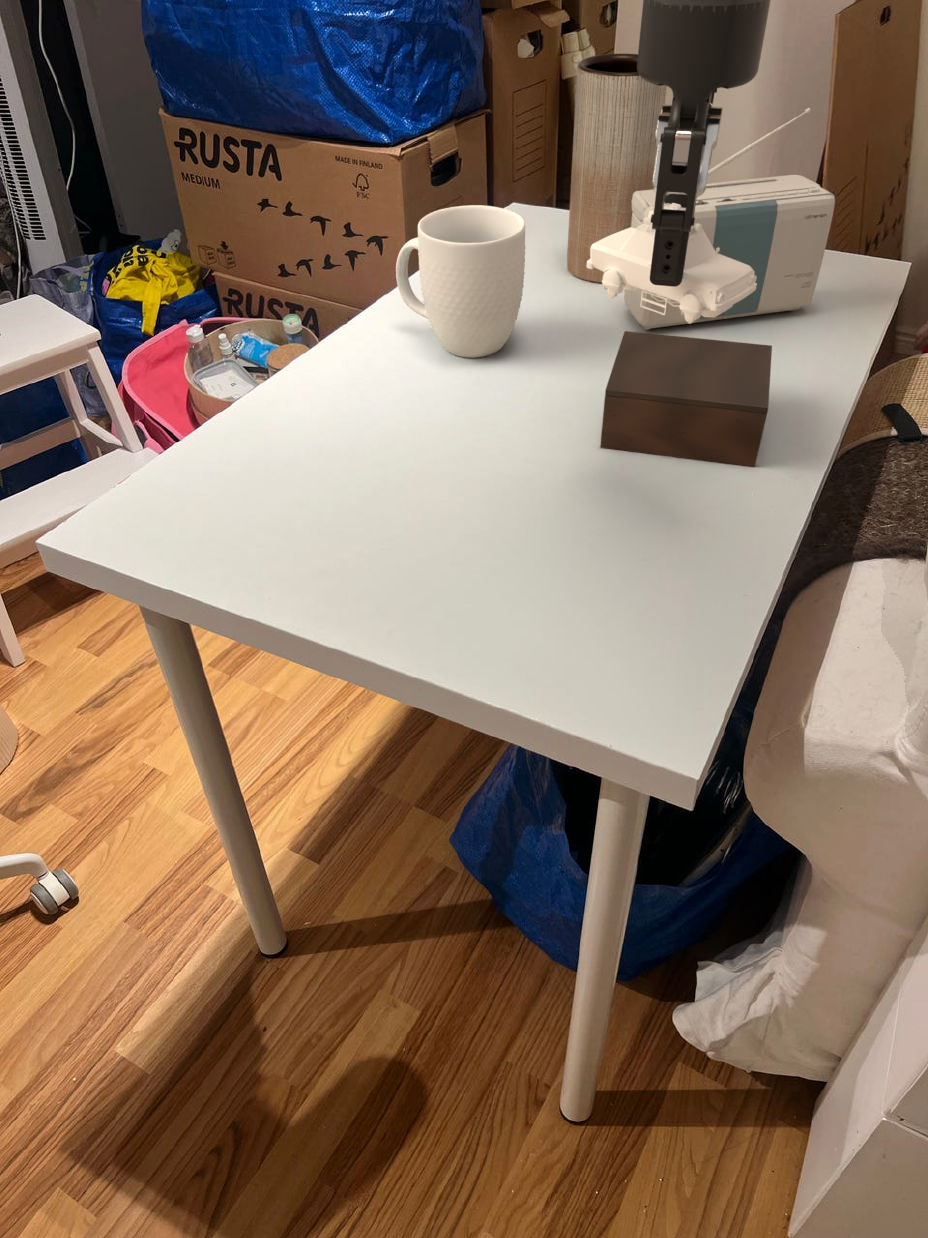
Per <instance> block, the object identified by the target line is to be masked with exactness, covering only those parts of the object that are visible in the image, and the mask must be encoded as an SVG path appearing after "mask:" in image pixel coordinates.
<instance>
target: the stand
mask: <svg viewBox="0 0 928 1238" xmlns="http://www.w3.org/2000/svg"><path fill="white" fill-rule="evenodd" d="M622 334H623V335H622V338H621V341H620V344H619V347H618V350H617V353H616V357H615V360H614V362H613V365H612V369H611V372H610V375H609V378H608V381H607V384H606V387H605V392H604V400H603V401H604V403H603V413H602V424H601V434H600V444H599V447H600V448H601V449H602V448H603V449H611V450H617V451H627V452H634V453H642V454H651V455H657V456H666V457H672V458H673V457H674V458H683V459H691V460H697V461H705V462H712V463H713V462H714V463H720V464H722V463H723V464H728V465H729V464H730V465H737V466H745V467H753V468H754V467H756V463H757V459H758V455H759V452H760V451H759V450H760V447H761V442H762V437H763V433H764V428H765V423H766V419H767V415H768V411H769V404H770V401H769V400H770V386H771V369H772V353H773V346H772V345H771V344H760V343H759V344H758V343H750V342H749V343H748V342H741V341H740V342H739V341H738V342H737V341H730V340H729V341H728V340H719V339H708V338H701V337H700V338H698V337H690V336H689V337H688V336H680V335H669V334H658V333H649V332H640V331H639V332H638V331H628V330H624V332H623V333H622Z"/></svg>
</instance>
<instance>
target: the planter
mask: <svg viewBox="0 0 928 1238" xmlns="http://www.w3.org/2000/svg"><path fill="white" fill-rule="evenodd" d="M637 60H638V53H605V54H598V55H593V56H592V55H591V56H588V57H585V58H582V60H580V61H579V62H578V63H577V67H576V86H575V102H574V119H573V120H574V122H573V138H572V139H573V141H572V156H571V157H572V160H571V174H570V175H571V176H570V193H569V195H570V196H569V210H568V212H569V215H568V232H567V233H568V234H567V247H566V250H567V251H566V268H567V271H569V273H570V274H571V275H573V276H575V277H576V278H579V279H581V280H583V281H588V282H593V283H601V284H602V280H603V275H604V273H605V272H606V271H605V272H603V271H601V270H599V269H597V268H595V267H594V268H593V269H589V268H587V261H588V260H589V259H590V258H591V257H590V248H591V246H592V244H594V243H596V242H597V241H599V240H601V239H603V238H605V237H608V236H610V235H612V234H615V233H617V232H620V231H622V230H625V229H628V228H630V227H631V222H632V212H633V211H632V198H633V194H634V193H635V192H636V191H643V190H653V175H654V168H655V161H656V155H657V148H658V146H657V145H656V128H657V121H658V116H659V115H661V110H662V105H663V104H666V96H667V89H668V86H666V85H661V86H658V85H654V84H652V83H649V82H647V81H645V80H644V79H642V78H641V77H640V75H639V73H638V71H637Z"/></svg>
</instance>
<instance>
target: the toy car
mask: <svg viewBox="0 0 928 1238" xmlns="http://www.w3.org/2000/svg"><path fill="white" fill-rule="evenodd" d="M664 209H671V210H685V211H686V208H682V207H681V205H680V204H676V203H672V204H670V203H666V204H665V207H664ZM652 214H653V215H654V209H651V210H650V211H649V214H648V218H647V217H645V218H644V224H642V225H640V226H638V227H637V228H636V229H635V228H631V227H630V228H628V229H625V230H622V231H620V232H617V233H615V234H612V235H610V236H608V237H605V238H603V239H601V240H599V241H597V242H596V243H594V244H592V246H591V248H590V257H591V258H590V259H589V260H588V261H587V268H589V269H593V268H594V267H595V268H597V269H599V270H601V271H603V272H605V271H606V272H605V273H604V275H603V280H602V283H601V284H602V286H603V291H606V292H607V294H608V296H609V298H611V299H614V298H616V297H617V296H618V295H619V294H621V293H622V292H623V290H625V289H626V290H638V289H643V290H642V295H641V304H640V307H643V308H645V309H648V310H651V311H654V312H657V313H659V314H662V315H665V314H666V306H667V303H669V304H670V305H672V306H673V307H679V308H680V310H681V315H683V314H684V317H685V320H686V321H687V322H688V324H689V325H690V324H693V323H692V322H694V321H695V320H696V319H698V318H700V316H701V315H702V316H703V317H713V318H714V317H716V316H718V315H720V314H721V313H723V312H725V311H726V310H728V309H729V308H731V307H732V306H733V304H735V303H737V302H739V301H740V300H742V299H744V298H745V297H747V296H748V295H750V294H751V293H752V292H754V291H755V290H756V286H757V283H755V282H756V279H757V276H756V275H754V273H755V272H754V271H753V269H752V268H751V267H750V266H749V265H747V264H744V263H741V262H739V261H736V260H734V259H731V258H729V257H726V256H723V255H721V254H718V253H717V252H719V250H720V248H719V247H718V248H716V252H715V250H714V248H713V246H712V244H711V243H710V241H709V239H708V237H707V236H706V234H705V232H704V230H703V229H702V224H698V223H697V224H696V223H694V226H692V227H691V232H689V238H688V245H687V252H686V258H685V265H684V272H683V278H682V282H681V284H680V285H678V286H676V287H672V286H661V285H654V284H652V283H651V282H650V270H651V262H652V254H653V246H654V238H655V230H656V229H652V223H651V215H652ZM645 290H646V291H645ZM647 291H649V292H647ZM643 292H645V293H647V294H650V295H651V296H652V298H654V299H655V300H657V301H659V302H665V301H666V303H665V305H662V304H659V303H657V302H654V301H651V300H648V299H645V298H643ZM651 292H652V293H655V294H657V295H655V294H652V293H651ZM653 296H656V297H659V298H662V299H664V300H658V299H656V298H655V297H653ZM642 300H643V301H646V302H649V303H652V304H655V305H658V306H660V307H663V308H665V310H664V313H661V312H658V311H655V310H653V309H650V308H647V307H644V306H642ZM671 300H675V301H671ZM672 303H680V305H674V304H672Z"/></svg>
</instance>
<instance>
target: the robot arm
mask: <svg viewBox="0 0 928 1238" xmlns="http://www.w3.org/2000/svg"><path fill="white" fill-rule="evenodd" d="M770 6H771V0H642V11H641V21H640V31H639V40H638V41H639V42H638V49H637V54H638V60H637V71H638V73H639V75H640V77H641V78H642V79H644V80H645V81H647V82H649V83H652V84H654V85H658V86H661V85H666V86H667V88H669V89H671V92H672V101H671V104H666V103H665V104H663V105H662V110H661V115H659V116H658V121H657V128H656V145H657V146H658V148H657V155H656V161H655V168H654V175H653V189H654V191H655V192H656V198H655V206H654V215H653V214H652V215H651V223H652V229H656V230H655V238H654V246H653V254H652V262H651V270H650V282H651V283H652V284H654V285H661V286H672V287H676V286H678V285H680V284H681V282H682V278H683V272H684V265H685V258H686V252H687V245H688V238H689V232H691V227H692V226H694V223H695V217H694V213H695V206H696V199H697V197H698V196H701V195H702V194H703V193H704V192H705V189H706V184H708V183H707V182H708V177H709V176H708V171H709V170H710V166H711V161H712V156H713V151H714V149H716V146H717V143H718V139H719V134H720V127H721V122H722V116H723V108H724V107H723V106H713V105H714V99H715V94H717V93H718V89H720V88H722V89H726V90H729V89H734V88H738V87H741V86H744V85H746V84H748V83H750V82H752V81H753V79H755V77H756V76H757V74H758V72H759V70H760V69H759V68H760V63H761V57H762V51H763V45H764V40H765V35H766V28H767V23H768V17H769V12H770ZM707 176H708V177H707ZM666 203H670V204H672V203H676V204H680V205H681V207H682V208H686V211H685V210H671V209H664V207H665V204H666Z"/></svg>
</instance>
